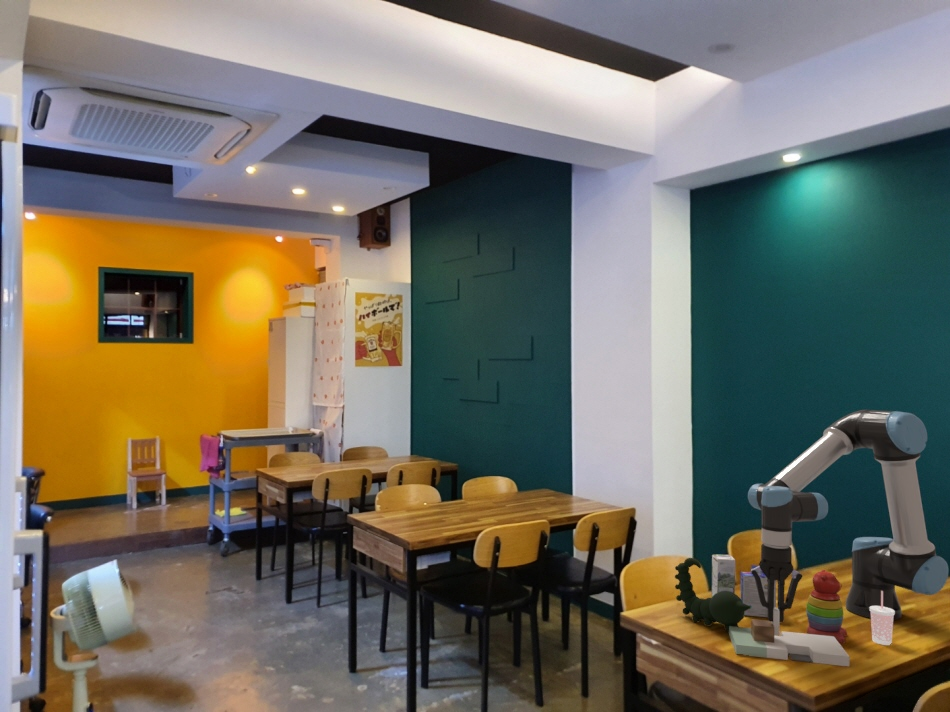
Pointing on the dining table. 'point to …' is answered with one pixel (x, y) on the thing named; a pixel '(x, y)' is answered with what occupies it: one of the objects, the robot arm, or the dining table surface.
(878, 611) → the beverage cup
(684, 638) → the dining table surface
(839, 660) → the trap deck
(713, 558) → the syrup box
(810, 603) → the stacking bear
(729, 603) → the toy figurine
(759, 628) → the walnut block
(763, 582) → the ink cartridge box
